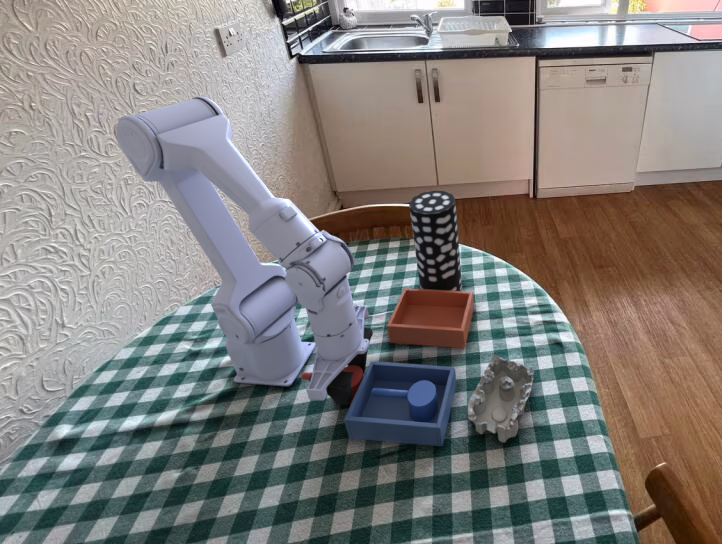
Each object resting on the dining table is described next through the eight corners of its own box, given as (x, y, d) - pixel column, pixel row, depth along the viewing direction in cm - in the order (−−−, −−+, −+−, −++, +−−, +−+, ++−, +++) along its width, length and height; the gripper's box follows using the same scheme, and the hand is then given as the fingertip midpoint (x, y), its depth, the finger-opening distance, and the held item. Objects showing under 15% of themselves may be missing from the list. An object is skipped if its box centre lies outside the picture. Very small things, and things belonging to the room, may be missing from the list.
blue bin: (348, 438, 57) (343, 420, 55) (374, 378, 65) (370, 360, 64) (442, 446, 56) (440, 428, 54) (456, 384, 64) (454, 366, 63)
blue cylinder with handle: (369, 418, 59) (365, 402, 58) (379, 392, 63) (376, 376, 61) (434, 424, 58) (431, 407, 57) (440, 397, 62) (438, 381, 60)
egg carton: (512, 450, 56) (511, 431, 54) (463, 428, 58) (461, 409, 56) (538, 382, 64) (538, 364, 63) (494, 366, 67) (494, 348, 65)
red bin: (389, 343, 72) (386, 326, 70) (406, 303, 80) (404, 287, 78) (464, 348, 70) (463, 331, 69) (474, 307, 79) (473, 291, 77)
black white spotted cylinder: (428, 271, 88) (418, 189, 79) (466, 274, 87) (460, 191, 78) (414, 299, 81) (402, 212, 72) (456, 303, 79) (448, 215, 71)
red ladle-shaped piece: (299, 401, 62) (293, 385, 61) (312, 377, 66) (307, 361, 64) (360, 406, 61) (355, 390, 60) (370, 381, 65) (367, 365, 63)
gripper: (337, 368, 50) (356, 437, 56) (381, 285, 63) (393, 348, 69) (281, 364, 51) (306, 433, 56) (337, 282, 64) (352, 345, 69)
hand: (351, 386), depth 63 cm, fingers open, 4 cm apart
